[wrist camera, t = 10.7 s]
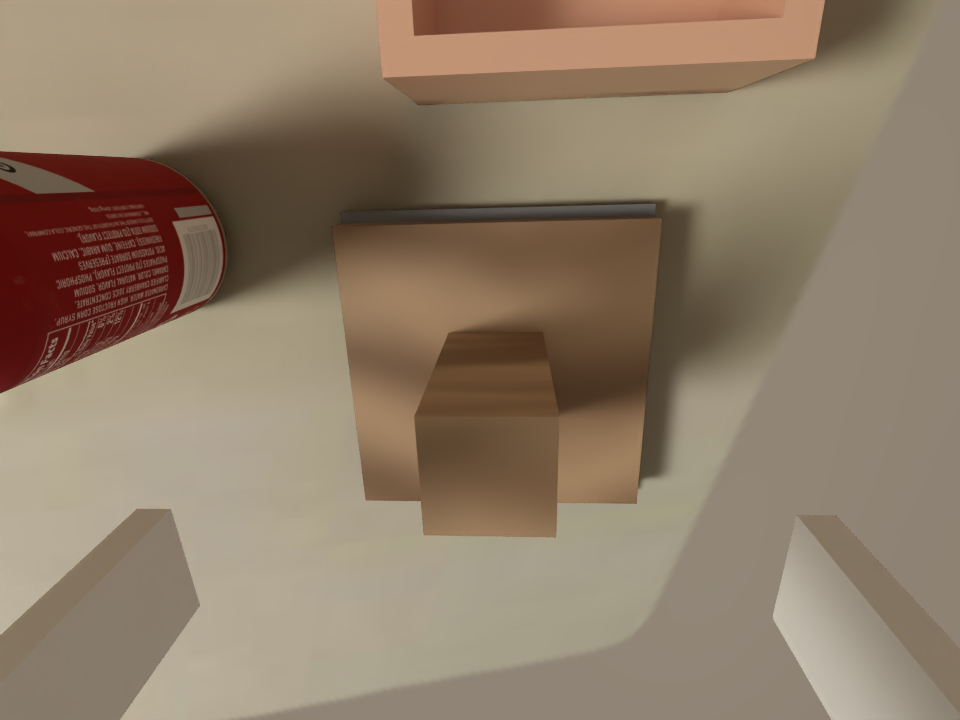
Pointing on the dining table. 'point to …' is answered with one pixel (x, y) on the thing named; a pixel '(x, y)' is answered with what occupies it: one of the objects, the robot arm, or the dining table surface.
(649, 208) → the mat
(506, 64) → the pink open box
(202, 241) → the soda can
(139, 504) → the dining table surface
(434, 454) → the lid
